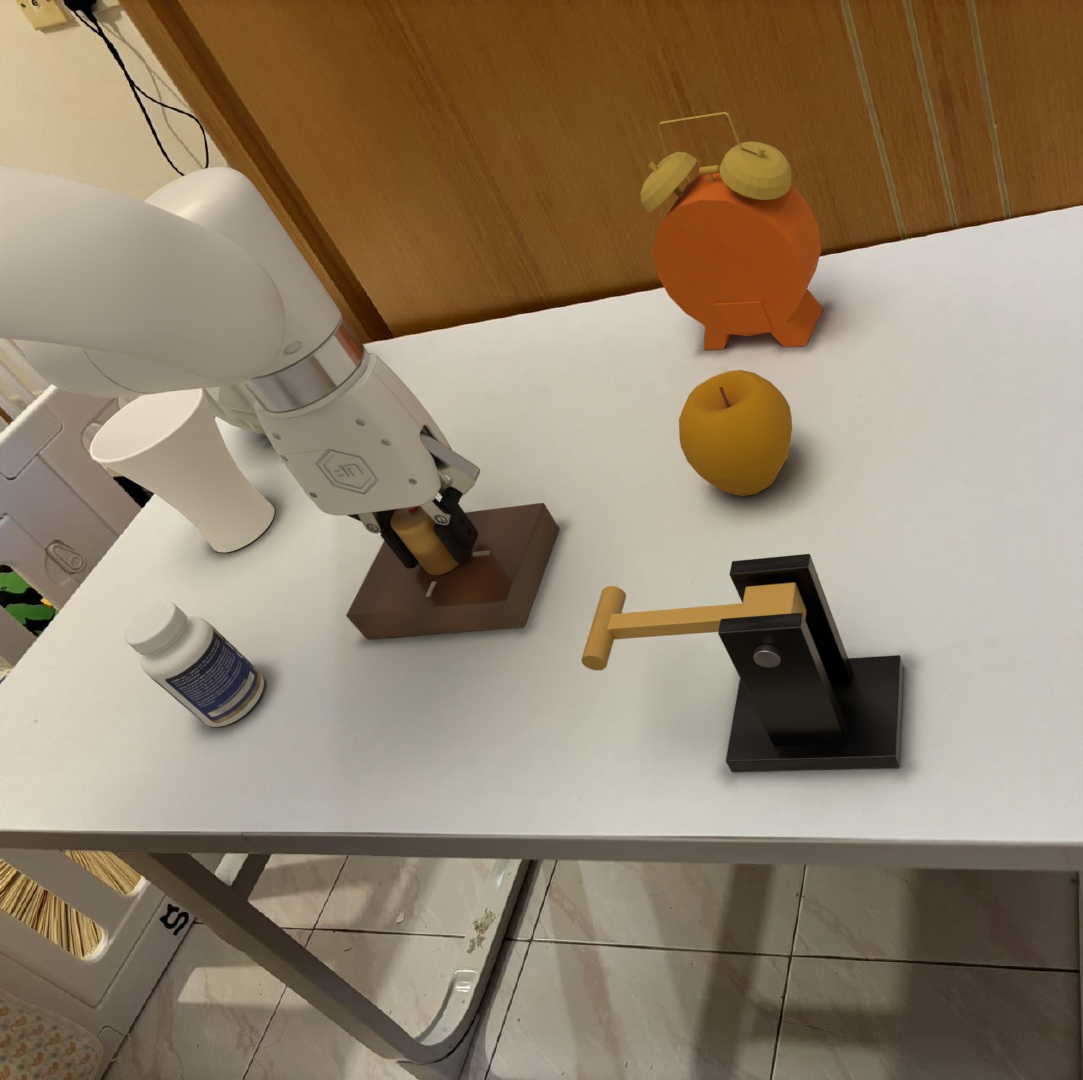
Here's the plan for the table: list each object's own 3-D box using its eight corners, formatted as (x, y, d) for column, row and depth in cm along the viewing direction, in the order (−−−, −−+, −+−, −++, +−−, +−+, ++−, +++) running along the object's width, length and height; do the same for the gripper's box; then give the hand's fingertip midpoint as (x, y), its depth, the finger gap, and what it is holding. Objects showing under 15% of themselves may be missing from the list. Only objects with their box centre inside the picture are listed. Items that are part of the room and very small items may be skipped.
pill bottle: (278, 671, 79) (197, 591, 73) (243, 729, 76) (154, 651, 69) (227, 671, 81) (144, 593, 75) (190, 728, 78) (99, 652, 71)
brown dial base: (366, 639, 79) (344, 614, 77) (412, 545, 85) (392, 519, 83) (524, 627, 74) (505, 599, 72) (559, 528, 81) (543, 500, 79)
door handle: (590, 676, 57) (573, 651, 55) (610, 607, 60) (595, 581, 58) (800, 664, 53) (788, 636, 51) (809, 590, 56) (798, 562, 54)
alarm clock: (842, 304, 90) (783, 84, 77) (822, 346, 87) (757, 124, 73) (710, 311, 96) (634, 109, 83) (687, 352, 93) (604, 147, 79)
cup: (304, 524, 93) (209, 412, 84) (199, 588, 91) (91, 480, 82) (283, 473, 100) (195, 364, 91) (187, 530, 98) (86, 426, 89)
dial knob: (457, 573, 76) (422, 525, 72) (417, 577, 77) (380, 529, 74) (473, 538, 78) (439, 489, 75) (434, 542, 80) (399, 495, 76)
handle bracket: (731, 772, 60) (663, 652, 52) (747, 675, 65) (687, 552, 57) (899, 768, 57) (854, 639, 49) (903, 666, 61) (863, 534, 54)
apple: (823, 492, 74) (792, 399, 68) (715, 534, 75) (676, 446, 69) (792, 427, 81) (761, 336, 75) (693, 466, 81) (655, 380, 75)
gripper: (175, 419, 66) (335, 598, 78) (390, 381, 60) (525, 580, 72) (230, 348, 70) (372, 527, 83) (433, 307, 65) (553, 505, 77)
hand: (442, 550), depth 78 cm, fingers open, 3 cm apart
